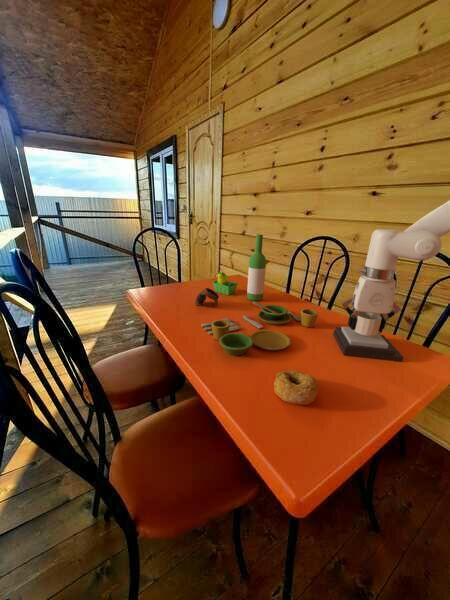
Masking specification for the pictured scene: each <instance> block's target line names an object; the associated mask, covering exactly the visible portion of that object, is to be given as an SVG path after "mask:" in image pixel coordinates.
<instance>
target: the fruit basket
mask: <svg viewBox="0 0 450 600" xmlns="http://www.w3.org/2000/svg"><path fill="white" fill-rule="evenodd" d="M212 285H213V289H214V292H216V293H219V294H224V295H227V296H230V295H233V294H235V293H236V290H237V287H238V285H239V283H237V282H234V281H231V280H230V281H229V276H228V275H227V274H226V273H225V272H224V271H219V272H218V274H217V280H215V281H212Z"/></svg>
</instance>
